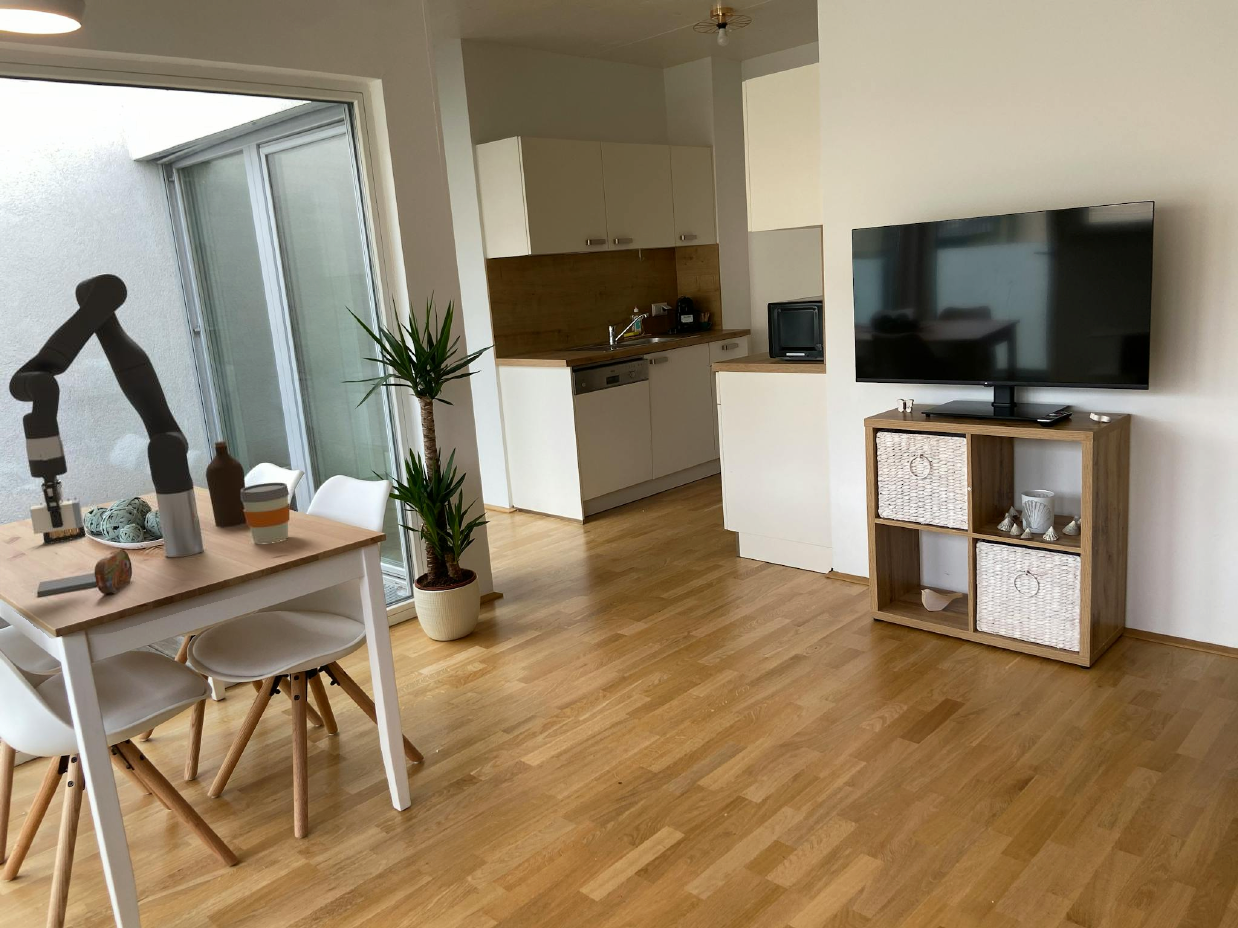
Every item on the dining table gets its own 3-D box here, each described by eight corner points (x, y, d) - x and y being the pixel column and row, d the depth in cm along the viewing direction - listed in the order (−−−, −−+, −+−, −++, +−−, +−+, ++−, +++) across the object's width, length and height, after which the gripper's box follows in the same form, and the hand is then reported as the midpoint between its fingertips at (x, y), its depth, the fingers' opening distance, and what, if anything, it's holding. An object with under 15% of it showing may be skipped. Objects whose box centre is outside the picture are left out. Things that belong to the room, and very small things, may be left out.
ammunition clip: (45, 543, 274) (37, 504, 272) (44, 542, 276) (36, 503, 274) (86, 536, 281) (79, 497, 278) (85, 535, 282) (78, 496, 280)
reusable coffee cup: (237, 545, 258) (229, 492, 255) (265, 533, 270) (258, 482, 267) (276, 546, 255) (269, 492, 252) (303, 533, 266) (297, 482, 264)
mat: (100, 576, 236) (99, 571, 236) (99, 585, 229) (99, 580, 228) (40, 586, 231) (39, 582, 230) (38, 596, 223) (37, 591, 223)
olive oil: (236, 527, 280) (224, 444, 275) (205, 527, 282) (193, 445, 278) (257, 518, 290) (246, 438, 285) (228, 518, 292) (216, 438, 288)
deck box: (36, 530, 227) (31, 505, 226) (83, 523, 231) (79, 499, 230) (34, 534, 223) (29, 509, 222) (82, 526, 227) (78, 502, 226)
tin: (110, 597, 218) (104, 563, 217) (96, 599, 218) (89, 564, 217) (135, 578, 233) (129, 545, 232) (121, 579, 233) (116, 546, 231)
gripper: (30, 453, 228) (42, 521, 231) (25, 462, 216) (38, 534, 219) (66, 449, 231) (77, 516, 235) (62, 457, 219) (75, 528, 222)
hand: (58, 524), depth 227 cm, fingers closed on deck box, 4 cm apart
